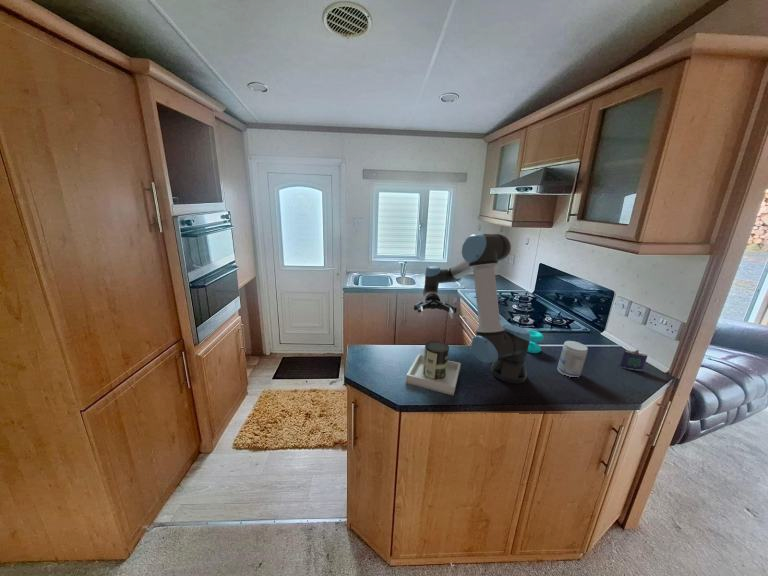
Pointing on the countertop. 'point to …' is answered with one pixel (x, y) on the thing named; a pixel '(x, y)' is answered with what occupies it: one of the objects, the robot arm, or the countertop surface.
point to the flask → (633, 360)
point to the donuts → (535, 337)
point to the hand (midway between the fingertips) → (437, 314)
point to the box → (441, 386)
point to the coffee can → (435, 360)
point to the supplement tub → (572, 359)
